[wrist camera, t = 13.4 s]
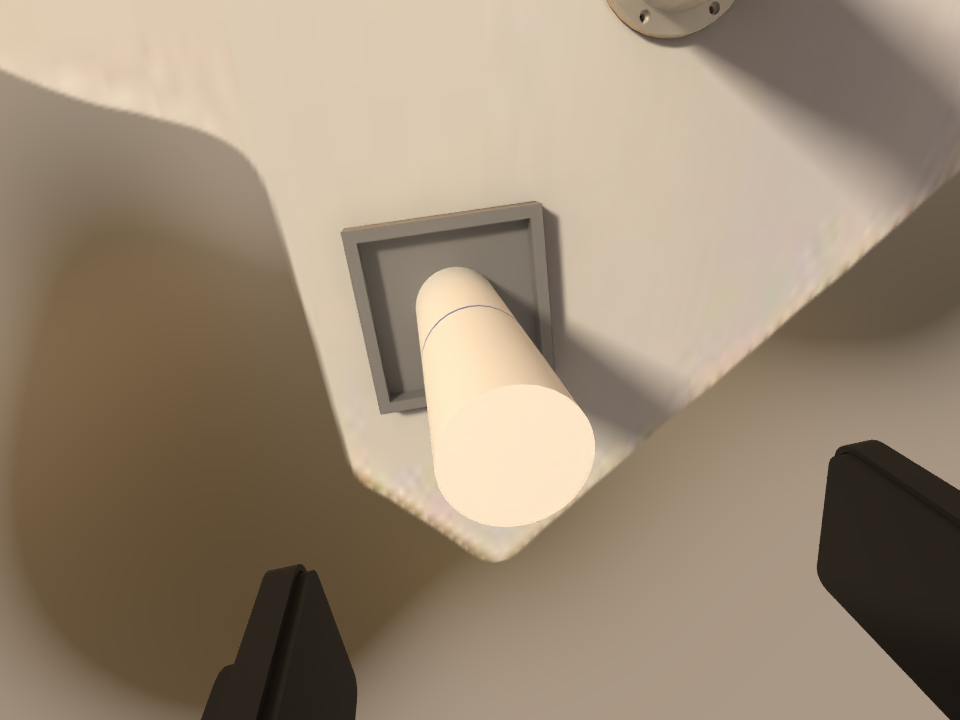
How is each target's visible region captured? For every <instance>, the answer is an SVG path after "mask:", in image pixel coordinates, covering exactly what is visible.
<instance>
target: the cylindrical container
mask: <svg viewBox="0 0 960 720" xmlns="http://www.w3.org/2000/svg"><path fill="white" fill-rule="evenodd" d="M416 316H417V325H418V333H419V342H420V351H421V359H422V368H423V376H424V385H425V393H426V402H427V410H428V419H429V428H430V436H431V445H432V453H433V462H434V470H435V477H436V480H437V483H438V486H439V489H440V490H441V492H442V494H443V496H444V497H445V499H446V500H447V501H448V502H449V503H450V505H451V506H452V507H453V508H454V509H455V510H457V511H458V512H460V513H461V514H462V515H464V516H465V517H467V518H469V519H471V520H474V521H476V522H479V523H481V524H486V525H491V526H497V527H513V526H521V525H526V524H530V523H533V522H537V521H539V520H541V519H544V518H546V517H548V516H550V515H552V514H554V513H555V512H557V511H558V510H560V509H561V508H563V507H564V506H565V505H566V504H567V503H568V502H569V501H571V500H572V499H573V498H574V497H575V496H576V495H577V493H578V492H579V490H580V489H581V488H582V486H583V485H584V484H585V482H586V480H587V478H588V475H589V473H590V471H591V468H592V464H593V460H594V455H595V441H594V435H593V430H592V428H591V425H590V423H589V421H588V418H587V417H586V416H585V414H584V413H583V411H582V410H581V409H580V407H579V406H578V404H577V403H576V402H575V400H574V399H573V397H572V396H571V395H570V393H569V392H568V390H567V389H566V388H565V386H564V385H563V383H562V382H561V381H560V379H559V378H558V376H557V375H556V374H555V372H554V371H553V369H552V368H551V367H550V365H549V364H548V362H547V361H546V360H545V358H544V357H543V356H542V354H541V353H540V352H539V350H538V349H537V347H536V346H535V345H534V343H533V342H532V341H531V339H530V338H529V337H528V335H527V334H526V333H525V331H524V330H523V328H522V327H521V326H520V324H519V323H518V322H517V320H516V319H515V317H514V316H513V315H512V313H511V312H510V310H509V309H508V307H507V306H506V305H505V303H504V302H503V300H502V299H501V298H500V296H499V295H498V294H497V292H496V291H495V290H494V288H493V287H492V286H491V284H490V283H489V282H488V280H487V279H486V278H485V277H484V276H482V275H481V274H480V273H478V272H476V271H474V270H472V269H469V268H465V267H449V268H446V269H442V270H440V271H438V272H436V273H434V274H433V275H432V276H430V277H429V278H428V279H427V280H426V281H425V283H424V284H423V285H422V287H421V289H420V290H419V293H418V296H417V299H416Z"/></svg>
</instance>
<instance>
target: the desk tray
mask: <svg viewBox="0 0 960 720" xmlns="http://www.w3.org/2000/svg"><path fill="white" fill-rule="evenodd" d="M341 236H342V240H343V245H344V250H345V254H346V259H347V263H348V268H349V272H350V277H351V281H352V286H353V291H354V295H355V300H356V304H357V309H358V313H359V318H360V323H361V327H362V332H363V336H364V341H365V345H366V350H367V355H368V359H369V364H370V368H371V373H372V377H373V382H374V386H375V391H376V396H377V400H378V405H379V409H380V414H381V415H382V414H388V413H393V412H399V411H405V410H411V409H416V408H422V407H427V402H426V393H425V385H424V376H423V368H422V359H421V351H420V342H419V333H418V325H417V316H416V299H417V296H418V293H419V290H420V289H421V287H422V285H423V284H424V283H425V281H426V280H427V279H428V278H429V277H430V276H432V275H433V274H434V273H436V272H438V271H440V270H442V269H446V268H449V267H465V268H469V269H472V270H474V271H476V272H478V273H480V274H481V275H482V276H484V277H485V278H486V279H487V280H488V282H489V283H490V284H491V286H492V287H493V288H494V290H495V291H496V292H497V294H498V295H499V296H500V298H501V299H502V300H503V302H504V303H505V305H506V306H507V307H508V309H509V310H510V312H511V313H512V315H513V316H514V317H515V319H516V320H517V322H518V323H519V324H520V326H521V327H522V328H523V330H524V331H525V333H526V334H527V335H528V337H529V338H530V339H531V341H532V342H533V343H534V345H535V346H536V347H537V349H538V350H539V352H540V353H541V354H542V356H543V357H544V358H545V360H546V361H547V362H548V364H549V365H550V367H551V368H552V369H553V371H554V372H555V367H554V354H553V341H552V328H551V315H550V302H549V289H548V276H547V263H546V250H545V237H544V224H543V211H542V203H539V202H536V201H532V202H525V203H518V204H511V205H504V206H497V207H491V208H484V209H477V210H470V211H463V212H456V213H449V214H442V215H435V216H428V217H421V218H414V219H407V220H400V221H393V222H386V223H379V224H372V225H365V226H358V227H351V228H344V229H343V230H342V232H341Z"/></svg>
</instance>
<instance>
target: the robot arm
mask: <svg viewBox="0 0 960 720" xmlns="http://www.w3.org/2000/svg"><path fill="white" fill-rule="evenodd" d="M735 1H736V0H607V2H608V3H609V5H610V7H611V8H612V9H613V10H614V12H615V13H616V14H617V15H618V17H619V18H620V19H621V20H622V21H624V22H625V23H626V24H627V25H629V26H630V27H631V28H632V29H634V30H636V31H638V32H640V33H642V34H644V35H648V36H652V37H656V38H677V37H681V36H686V35H689V34H692V33H694V32H696V31H699V30H701V29H703V28H705V27H706V26H708V25H710V24H711V23H713V22H715V21H716V20H717V19H718V18H719V17H720V16H722V15H723V14H724V13H725V12H726V11H727V10H728V9H729V8H730V7H731V6H732V4H733V3H734V2H735ZM709 8H710V9H711V13H710V12H709ZM640 16H642V17H643V21H642V22H641V21H640ZM817 573H818V576H819V578H820V581H821V583H822V584H823V586H824V587H825V588H826V590H827V591H828V592H829V593H830V594H831V595H832V596H833V597H834V598H835V599H836V600H837V601H838V602H839V603H840V604H841V605H842V607H843V608H845V610H846V611H847V612H848V613H849V614H850V615H851V616H852V617H853V618H854V619H855V620H856V621H857V622H858V623H859V625H861V627H863V629H864V630H865V631H866V632H867V633H868V634H869V635H870V636H871V637H872V638H873V639H874V640H875V641H876V642H877V643H878V644H879V646H880V647H881V648H882V649H883V650H884V651H885V652H886V653H887V654H888V655H889V656H890V657H891V658H892V659H893V660H894V661H895V662H896V663H897V665H898V666H899V667H901V668H902V670H903V671H904V672H905V673H906V674H907V675H908V676H909V677H910V678H911V679H912V680H913V681H914V682H915V683H916V684H917V686H918V687H919V688H920V689H921V690H922V691H923V692H924V693H925V694H926V695H927V696H928V697H929V698H930V699H931V700H932V701H933V702H934V703H935V705H937V707H938V708H939V709H940V710H941V711H942V712H943V713H944V714H945V715H946V716H947V717H948V718H949V719H950V720H960V490H958V489H956V488H955V487H953V486H952V485H950V484H948V483H947V482H945V481H943V480H942V479H940V478H939V477H937V476H935V475H934V474H932V473H931V472H929V471H927V470H926V469H924V468H923V467H921V466H919V465H918V464H916V463H914V462H913V461H911V460H910V459H908V458H906V457H905V456H903V455H901V454H900V453H898V452H897V451H895V450H893V449H892V448H890V447H889V446H887V445H885V444H884V443H882V442H879V441H877V440H868V441H863V442H859V443H854V444H849V445H845V446H842V447H839V448H838V449H837V451H836V453H835V456H834V457H832V458H831V459H830V462H829V467H828V476H827V485H826V494H825V502H824V510H823V518H822V527H821V536H820V544H819V554H818V562H817ZM356 704H357V684H356V678H355V674H354V671H353V668H352V666H351V663H350V660H349V658H348V655H347V652H346V650H345V647H344V644H343V641H342V639H341V636H340V633H339V631H338V628H337V625H336V623H335V620H334V617H333V615H332V612H331V609H330V606H329V604H328V601H327V598H326V596H325V593H324V590H323V587H322V585H321V582H320V580H319V577H318V574H317V572H316V571H315V570H312V571H306V569H305V567H304V566H303V565H302V564H298V565H293V566H289V567H284V568H280V569H275V570H270V571H268V572H266V573H265V575H264V577H263V580H262V583H261V586H260V589H259V592H258V595H257V598H256V601H255V604H254V607H253V609H252V612H251V615H250V618H249V621H248V624H247V628H246V631H245V633H244V636H243V639H242V642H241V645H240V649H239V651H238V654H237V657H236V660H235V663H234V664H232V665H228V666H225V667H224V668H223V669H222V670H221V672H219V674H218V676H217V678H216V680H215V683H214V685H213V688H212V691H211V693H210V696H209V699H208V702H207V704H206V707H205V710H204V713H203V716H202V718H201V720H355V715H356Z"/></svg>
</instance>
